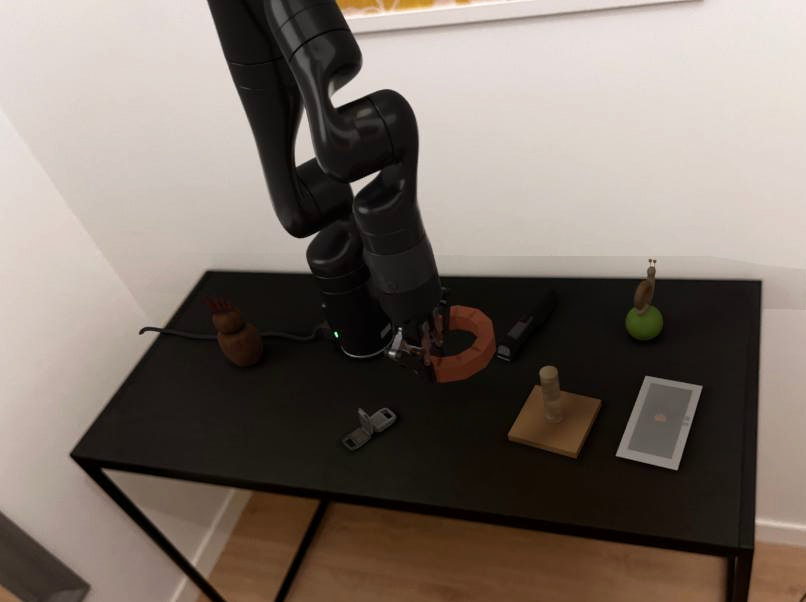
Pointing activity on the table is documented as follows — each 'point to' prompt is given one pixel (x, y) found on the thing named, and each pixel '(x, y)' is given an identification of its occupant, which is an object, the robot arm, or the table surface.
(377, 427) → the strap clip
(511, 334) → the electric trimmer
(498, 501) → the table surface
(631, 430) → the touchpad
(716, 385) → the table surface
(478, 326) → the ring
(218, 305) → the wooden figurine
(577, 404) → the stand
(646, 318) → the snail figurine
